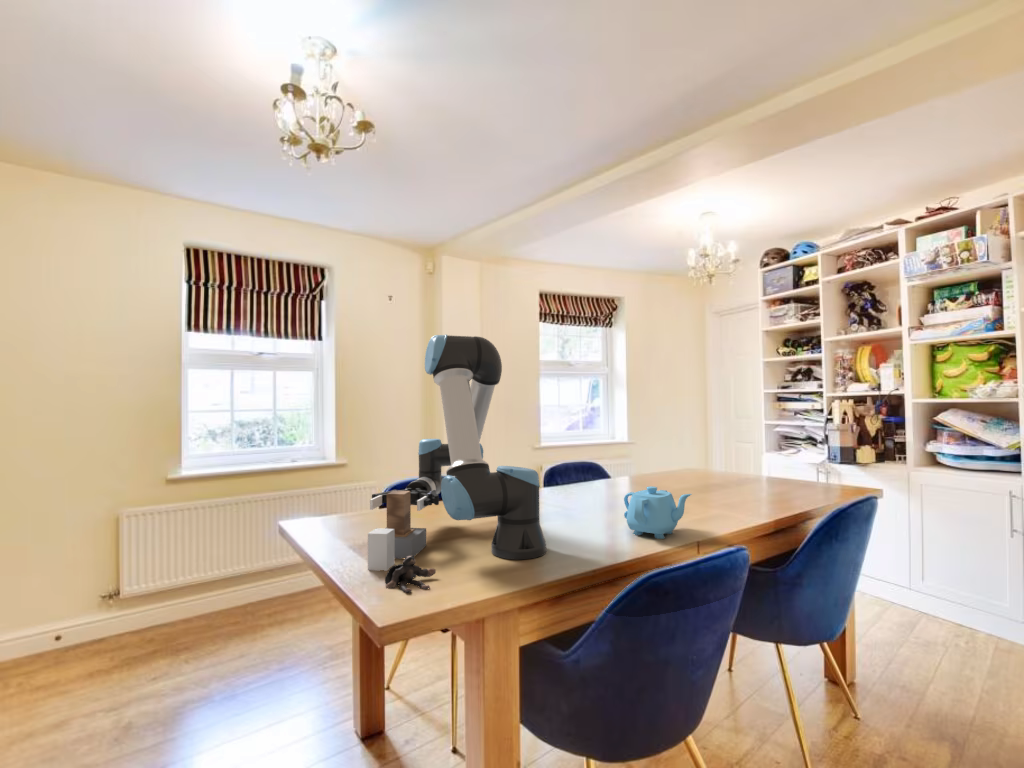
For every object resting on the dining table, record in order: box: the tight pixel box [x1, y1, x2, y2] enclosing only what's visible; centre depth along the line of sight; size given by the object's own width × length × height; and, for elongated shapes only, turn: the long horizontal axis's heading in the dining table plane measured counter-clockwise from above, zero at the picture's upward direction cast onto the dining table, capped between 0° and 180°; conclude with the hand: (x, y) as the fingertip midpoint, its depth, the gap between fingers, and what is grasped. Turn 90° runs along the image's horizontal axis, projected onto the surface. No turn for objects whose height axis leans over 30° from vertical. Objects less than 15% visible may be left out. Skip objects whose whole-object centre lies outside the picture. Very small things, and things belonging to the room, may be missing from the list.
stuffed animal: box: [384, 556, 436, 594], centre depth 115 cm, size 12×10×12 cm
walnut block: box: [386, 490, 412, 535], centre depth 139 cm, size 5×5×11 cm
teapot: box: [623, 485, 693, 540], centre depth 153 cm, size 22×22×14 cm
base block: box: [384, 526, 427, 559], centre depth 138 cm, size 12×12×5 cm
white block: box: [367, 527, 396, 572], centre depth 125 cm, size 5×5×9 cm
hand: (394, 505), depth 136 cm, fingers open, 13 cm apart
